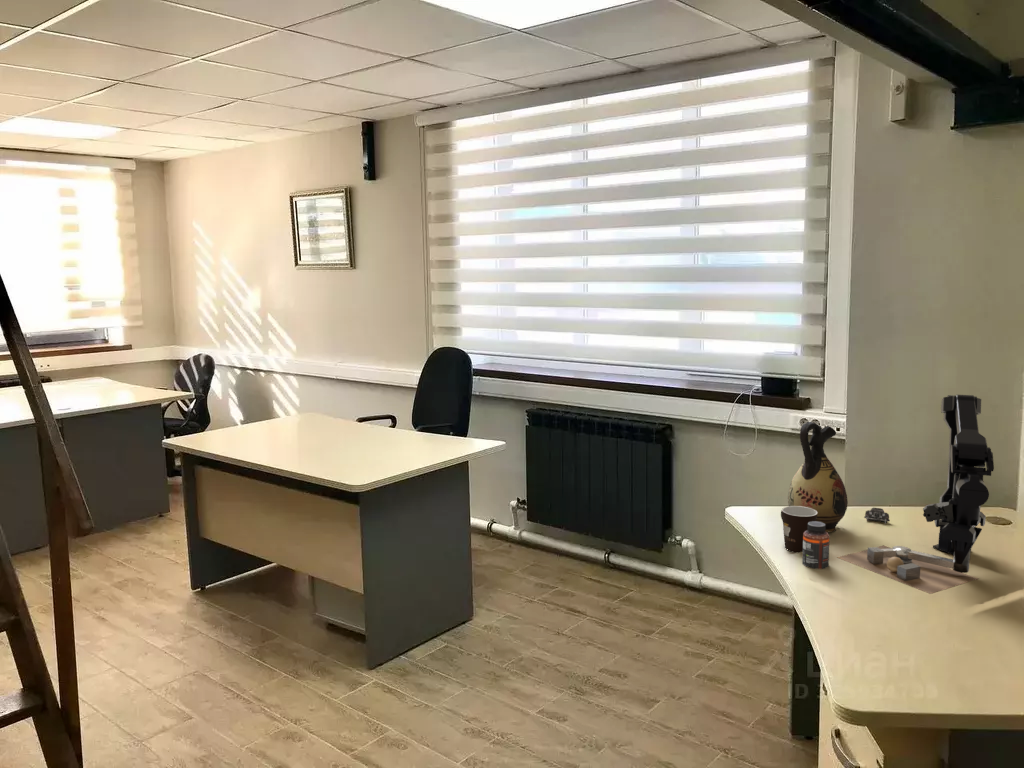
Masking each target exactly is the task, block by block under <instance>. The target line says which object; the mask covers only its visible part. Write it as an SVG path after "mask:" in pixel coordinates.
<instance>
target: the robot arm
mask: <svg viewBox="0 0 1024 768" xmlns="http://www.w3.org/2000/svg"><path fill="white" fill-rule="evenodd" d="M940 412H941V414H943V421H944V423H945V424H946V427H947V428H948V429H949V441H948V442H949V443H948V463H947V464H948V465H947V466H948V467H947V481H946V482H947V485H946V487H947V488H945V489H944V491H943V492H942V494H940V496H939V502H937V503H930V504H926V505H924V507H923V508H922V510H923V514H922V515H923V517H925V520H926V522H927V523H931V522H934V524H935V527H936V528H939V533H938V542H937V543H938V544H934V545H932V548H933V549H936V550H939V551H942V552H945V553H947V554H951V555H954V554H955V559H956V563H957V564H962V563H963V561H964V559H965V558H966V556H967V554H968V552H969V551H970V552H971V551H972V548H973V546H974V545H975V543H976V541H977V539H978V537H979V536H980V533H981V532H982V530H983V528H981V527H985V525H986V518H987V516H986V514H985V513H983V512H982V511H981V506H984V504H985V503H987V501H988V499H989V497H990V491H989V489H988V487H987V486H986V484H985V482H984V476H988V477H989V476H990V477H991V476H992V472H994V471H995V466H994V465H995V464H994V453H993V452H992V448H991V447H990V446H989V447H988V443H987V438H986V437H985V436H984V435H982V434H981V433H980V432H979V423H978V416H980V414H982V398H979V397H977V395H973V394H956V395H955V394H954V395H953V394H952V395H951V394H947V395H946V396H945V397H943V398H941V404H940ZM979 524H980V526H981V527H978V526H979Z"/></svg>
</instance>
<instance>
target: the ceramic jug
mask: <svg viewBox="0 0 1024 768" xmlns="http://www.w3.org/2000/svg"><path fill="white" fill-rule="evenodd" d="M799 431H800V432H799V441H800V445H801V447H802V451H803V452H802V453H803V456H804V461H803V463H802V464H801V465H800V467H799V468H798V470H797V471H796V472H795V474H794V476H793V477H792V480H791V481H790V484H789V488H788V491H787V492H788V493H787V505H788V506H802V507H808V508H811V509H814V510H816V511H817V512H818V513H817V519H816V521H817V522H822V523H824V524H825V525H826V526H825V528H826V529H825V532H827V533H828V534H829V533H833V532H836V531H837V528H836V526H837V525H838V524H839V523H840V521H841V520H842V519H843V518H844V516H845V515H846V512H847V510H848V494H847V491H846V486H845V484H844V482H843V479H842V478H841V476H840V474H839V472H838V471H837V469H836V468H835V466H834V465H833V463H832V462H831V460H829V458H828V456H827V455H826V453H825V450H824V445H825V443H826V442H828V440H830V439H831V438H833V437H836V434H837V432H836V430H835V429H834V428H833V427H831V426H830V425H826V426H824V427H823V428H822V426H821V425H819V424H817V423H815V422H812V421H809V422H808V421H807V422H805V423H803V424H802V425H801V427H800V430H799ZM811 431H812V432H811ZM809 432H811V433H812V435H811V436H810V438H809Z"/></svg>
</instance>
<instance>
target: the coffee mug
mask: <svg viewBox="0 0 1024 768" xmlns="http://www.w3.org/2000/svg"><path fill="white" fill-rule="evenodd" d="M817 513H818V512H817V511H816V510H814V509H811V508H808V507H802V506H789V505H788V506H784V507H783V508H782V509H781V511H780V518H781V521H782V528H783V538H784V540H783V541H784V542H783V543H784V549H785V548H786V549H785V550H787V549H788V550H790V551H789V552H791V551H793V552H792V553H796V552H798V553H803V534H804V532H805V531H806V530H807V529H808V523H809V522H812V521H816V519H817ZM788 550H787V551H788Z"/></svg>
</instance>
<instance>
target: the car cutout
mask: <svg viewBox="0 0 1024 768" xmlns="http://www.w3.org/2000/svg"><path fill="white" fill-rule="evenodd" d="M864 515H865V516H864V517H863V518H864V519H865V520H866V522H868V521H871V522H877V523H878V522H879V523H884V524H887V523H888V522H890V515H889V513H888V512H885V511H884V509H883V508H881V507H872V508H871V509H869V510H866V511H865V514H864Z"/></svg>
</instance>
